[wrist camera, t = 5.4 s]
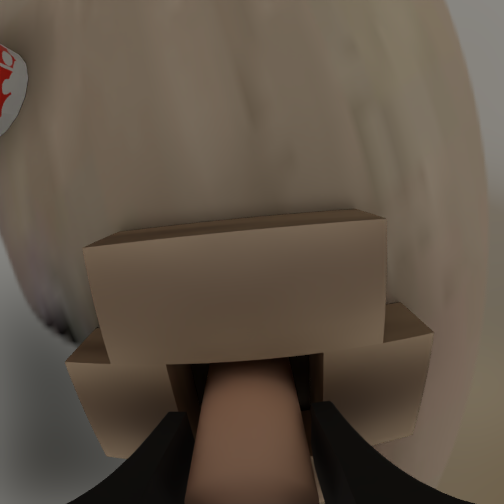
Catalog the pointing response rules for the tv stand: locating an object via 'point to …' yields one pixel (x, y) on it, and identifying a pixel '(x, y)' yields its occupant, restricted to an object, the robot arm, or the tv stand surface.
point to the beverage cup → (11, 86)
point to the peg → (251, 438)
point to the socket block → (248, 321)
